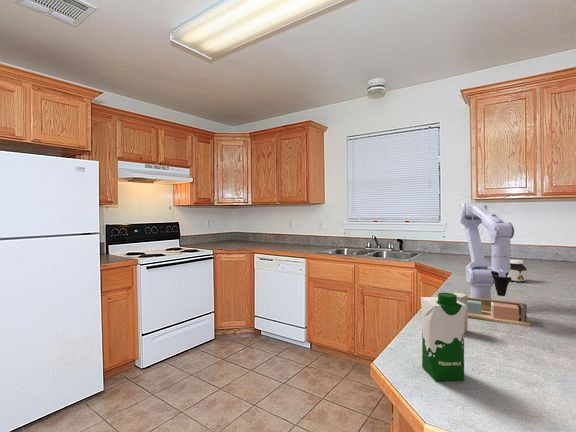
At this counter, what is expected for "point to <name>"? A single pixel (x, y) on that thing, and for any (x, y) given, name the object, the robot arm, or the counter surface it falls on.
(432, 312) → the milk carton
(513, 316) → the boxed book
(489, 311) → the shelf
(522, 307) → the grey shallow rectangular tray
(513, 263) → the spread jar
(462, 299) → the skincare box
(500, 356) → the counter surface
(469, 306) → the pale blue cube
